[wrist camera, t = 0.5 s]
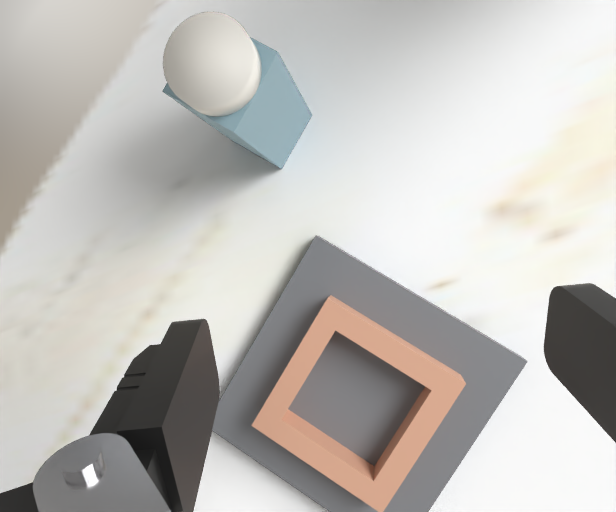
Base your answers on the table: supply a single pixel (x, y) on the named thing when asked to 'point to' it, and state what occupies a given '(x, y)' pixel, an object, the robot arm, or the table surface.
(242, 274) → the table surface
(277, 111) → the ball-topped blue post
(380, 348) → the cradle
